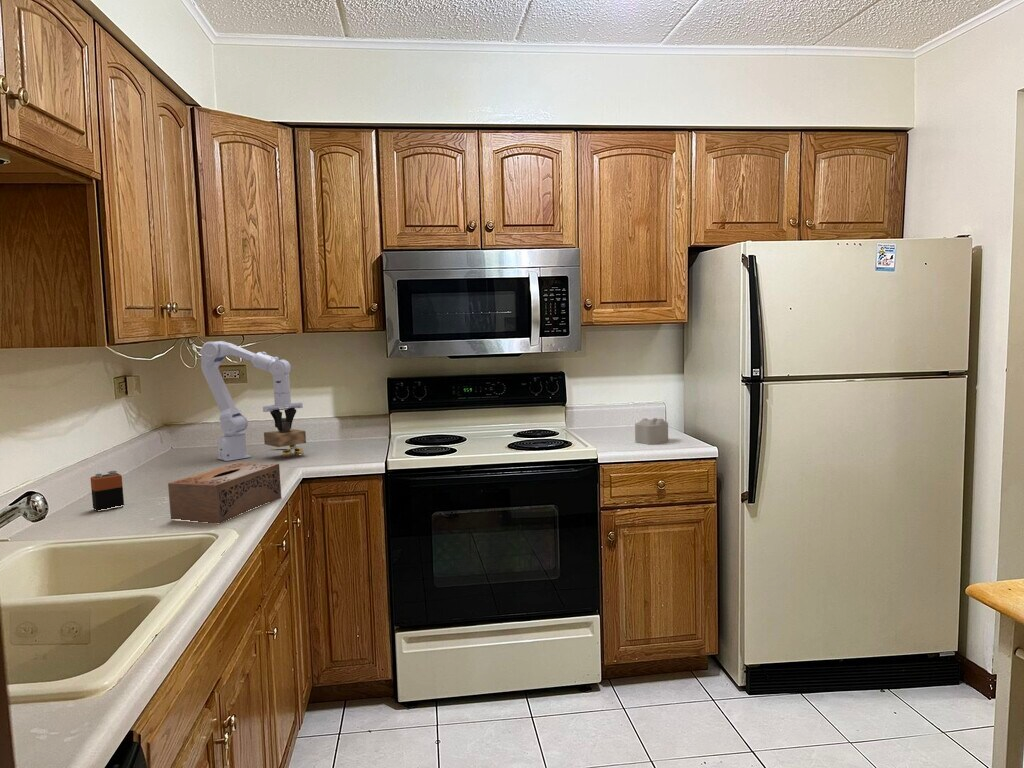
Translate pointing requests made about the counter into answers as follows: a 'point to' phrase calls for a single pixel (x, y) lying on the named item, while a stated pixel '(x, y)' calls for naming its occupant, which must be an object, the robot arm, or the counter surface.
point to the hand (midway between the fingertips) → (284, 429)
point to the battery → (107, 490)
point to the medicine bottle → (283, 446)
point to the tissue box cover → (224, 492)
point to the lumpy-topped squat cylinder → (651, 431)
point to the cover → (285, 436)
